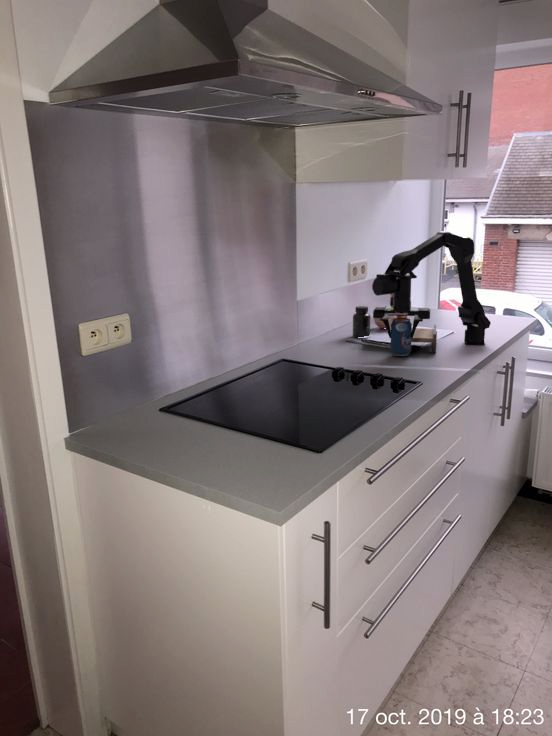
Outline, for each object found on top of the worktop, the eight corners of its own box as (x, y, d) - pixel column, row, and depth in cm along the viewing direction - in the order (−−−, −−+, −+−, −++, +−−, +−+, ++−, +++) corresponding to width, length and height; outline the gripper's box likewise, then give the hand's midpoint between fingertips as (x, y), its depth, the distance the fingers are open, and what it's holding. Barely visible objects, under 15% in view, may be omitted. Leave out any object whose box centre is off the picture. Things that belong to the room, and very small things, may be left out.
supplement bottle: (371, 339, 238) (371, 308, 235) (353, 339, 239) (353, 308, 235) (369, 335, 245) (369, 305, 242) (351, 335, 245) (351, 305, 242)
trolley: (436, 343, 229) (437, 324, 228) (435, 354, 214) (436, 334, 212) (401, 341, 233) (402, 323, 231) (398, 353, 217) (399, 333, 215)
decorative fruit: (381, 333, 247) (381, 308, 244) (370, 329, 254) (370, 305, 252) (401, 330, 251) (401, 306, 248) (389, 327, 258) (390, 303, 255)
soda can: (406, 357, 208) (407, 322, 205) (387, 354, 212) (387, 320, 208) (413, 352, 214) (415, 318, 210) (395, 350, 217) (395, 316, 214)
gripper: (431, 289, 212) (429, 333, 216) (376, 288, 217) (375, 332, 221) (430, 294, 202) (428, 340, 206) (373, 293, 206) (372, 339, 211)
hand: (401, 338), depth 211 cm, fingers closed on soda can, 7 cm apart
